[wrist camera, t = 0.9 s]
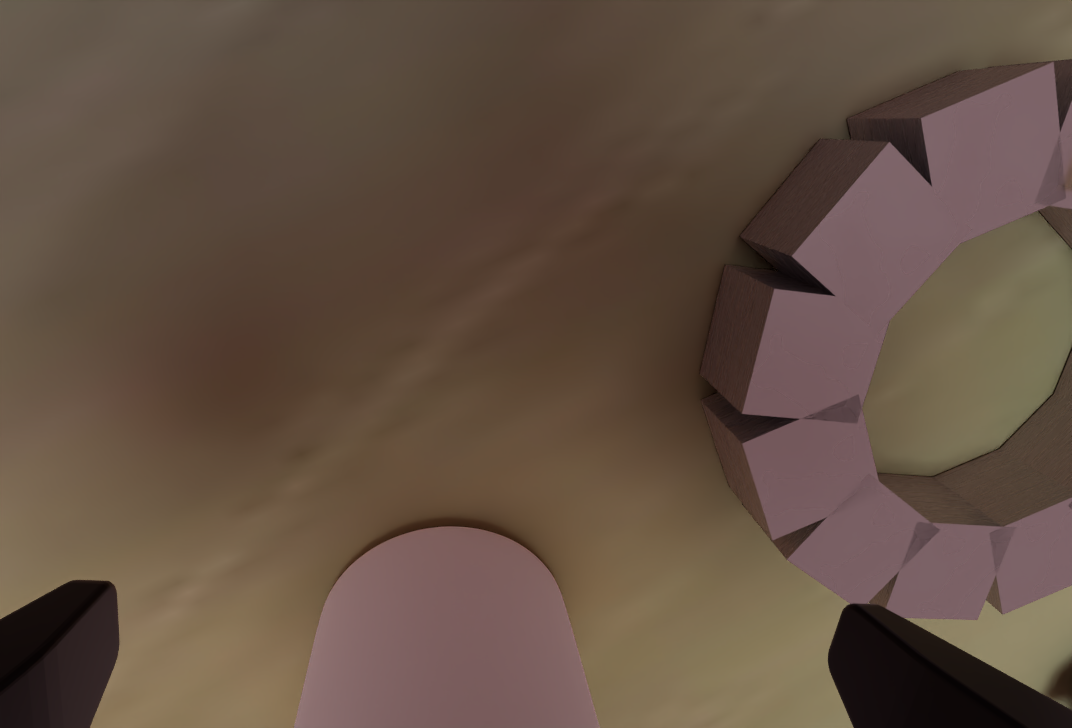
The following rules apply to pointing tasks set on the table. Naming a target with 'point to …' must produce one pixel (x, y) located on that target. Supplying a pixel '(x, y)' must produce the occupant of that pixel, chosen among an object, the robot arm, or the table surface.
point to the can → (445, 640)
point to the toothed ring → (856, 339)
